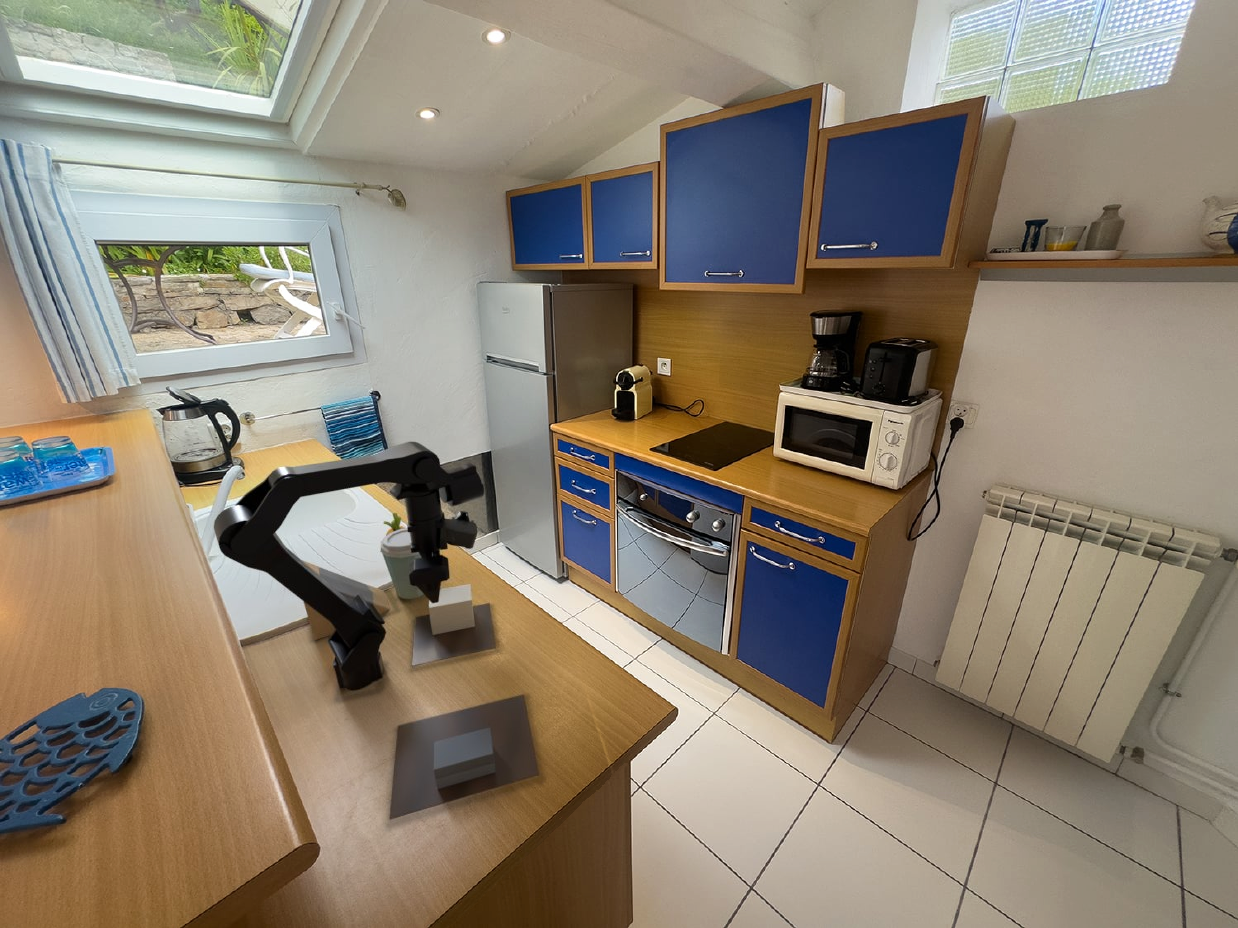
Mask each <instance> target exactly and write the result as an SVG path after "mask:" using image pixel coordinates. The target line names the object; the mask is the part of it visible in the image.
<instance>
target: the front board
mask: <svg viewBox="0 0 1238 928" xmlns="http://www.w3.org/2000/svg"><path fill="white" fill-rule="evenodd" d="M486 728H491V736H492V745H493V754H494V763H495V773H492V774H488V775H485V776H481V777H478V778H475V779H471V780H468V781H464V782H461V783H457V784H454V785H450V786H447V787H444V788H440V789H437V785H436V780H435V775H434V742H436V741H440V740H444V739H448V738H452V737H455V736H459V735H463V734H467V733H471V732H474V731H478V730H482V729H486ZM537 760H538V759H537V755H536V750H535V744H534V739H533V735H532V729H531V724H530V718H529V714H528V709H527V703H526V698H525V694H520V695H516V696H512V697H508V698H503V699H499V700H496V701H495V700H494V701H492V702H487V703H483V704H480V705H479V704H478V705H476V706H472V707H468V708H463V709H459V710H455V711H452V712H447V713H443V714H439V715H435V716H431V717H426V718H423V719H418V720H414V721H410V722H407V723H403V724H399V725H397V730H396V743H395V754H394V764H393V765H394V766H393V775H392V788H391V799H390V809H389V820H393V819H396V818H397V819H398V818H401V817H404V816H406V815H411V814H414V813H417V812H420V811H424V810H427V809H431V808H433V807H437V806H440V805H444V804H447V803H450V802H453V801H456V800H460V799H463V798H466V797H471V796H474V795H477V794H480V793H483V792H487V791H489V790H493V789H496V788H500V787H503V786H506V785H510V784H514V783H517V782H520V781H523V780H526V779H530V778H533V777H536V776H540V773H539V765H538V761H537Z"/></svg>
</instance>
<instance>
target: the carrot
mask: <svg viewBox="0 0 1238 928" xmlns="http://www.w3.org/2000/svg"><path fill="white" fill-rule="evenodd" d="M392 517H393V520H392V521H391V522H390V521H386V520H385V521H383V524H384V525H387V526H388V527H389V529H388V530H387V532H386V534H385V537H386V536H387V535H388V534H389V533H391V532H394V531H397V530H399V529H404V528H406V527H404V526H402V525H401V521H402V517H401V516H399V515H398V513H397V512H393V513H392Z"/></svg>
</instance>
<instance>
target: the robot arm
mask: <svg viewBox="0 0 1238 928" xmlns="http://www.w3.org/2000/svg"><path fill="white" fill-rule="evenodd" d="M382 483H383V484H384V483H385V484H387V483H388V484H390V483H391V484H395V485H393V486H392V487H391V488H390V489H389V491H388V492H389V494H390V495H391V496H393V497H394V499H396V500H397V501H400V500H401V501H402V500H404V505H405V512H406V518H407V526H406V528H407V529H408V533H409V532H410V538H411V553H416V552H419V554H420V556H421V557H422V558H418V559H414V560H413V561H412V562H411V563H410V566H409V580H410V585H412V586H416V587H418V588H419V589H420V590H421V591H422V593H423V594H424V596H425V597H426V598H427V599H428V601H429V600H430V601H431V603H437V602H439V594H440V589H441V586H442V582H447V581H448V580H449V579H450V578H451V575H450V573H451V572H450V562H449V558H448V557H446V556H445V555H443V554H441V551H444V550H448V549H449V546H451V547H452V546H453V547H461V548H465V549H468V550H471V549H473V548H474V546H475V543H476V539H477V536H478V526H477V523H475V520H473V519H471V520H470V516H469V512H468V511H465V510H459V511H458V513H456V514H455V515H454V516H452V517H451V518H446V515H445V512H443V510H442V504H441V503H444V504H448V506H450V507H456V506H460V505H462V504H465V503H468V502H469V503H470V502H473V501H476V500H478V499H482V498H483V497H484V494H485V485H484V484H483V482H482V478H481V476H480V474H479V473H478V471H477V466H476V465H474V464H473V463H470V462H468V463H465V464H463V465H461V466H457V467H453V468H450V469H449V468H448V469H445V468H444V467H442V466H441V461H440V458H439V456H438V455H437V454H436V453H435V452H433V450H431V449H430V448H427V447H426V446H425V445H423V444H421V443H420V442H416V441H407V442H404V443H400V444H397V445H393V446H390V447H388V448H386V449H384V450H382V451H381V452H379V453H376V454H371V455H367V456H358V457H351V458H343V459H338V460H331V461H324V462H316V463H311V464H303V465H296V466H281V467H277V468H275V469H273V470H272V471H271V473H269V474H268V475H267V476H266V478H265V479H264V480H262V481H261V482H260V483H259V484H257V485H256V486H254V487H253V488H252V489H250V490H249V491H247V492H246V493H245V494H244V495H243V496H242V497H241V498H240V499H239V500H238V502H236V503H235V504H234V505H232V506H230V507H227V508H226V509H223V510H222V511H221V512H220V513H219V514H218V515H217V516H216V518H215V519H214V522H213V530H214V534H215V537H216V541H217V545H218V548H219V550H220V552H221V553H222V554H223V555H224V556H225V557H226V558H228V559H230V560H232V561H234V562H236V563H239V564H240V565H242V566H244V567H246V568H249V569H253V570H257V571H260V572H263V573H266V574H268V575H269V576H271V578H273V579H274V580H275V581H277V582H278V583H279V584H281V585H282V586H283V587H285V588H286V589H287V590H288V591H290V592H291V593H292V594H294V595H295V596H296V597H297V598H298V599H300V600H301V601H304V602H305V603H306V604H308V605H309V606H310V607H311V608H313V609H314V610H315V611H317V612H318V613H319V614H320V615H322V616H323V617H324V618H326V619H327V620H328V621H329V622H331V624H332V625H333V626H334V628H335V631H334V632H333V633H332V635H329V636H328V638H327V643H328V646H329V647H330V649H331V652H332V653H333V655H334V659H333V662H332V666H333V670H334V673H335V677H336V682H337V685H338V689H340V690H341V689H345V690H348V691H360V690H363V689H365V688H366V687H369V686H370V685H372V683H374V682H378V681H379V680H381V679H384V671H385V666H384V665H385V664H384V662H383V656H382V653H381V651H380V649H381V648H380V647H381V644H382V643H384V640H385V638H386V634H387V630H386V628H385V627H384V625H385V624H386V621H385V620H384V618H383V617H382V615H381V613H380V614H379V613H378V611H377V610H376V608H375V607H374V605H373V604H372V603H368V602H367V601H365V600H364V599H363V597H362V596H361V594H360V593H359V594H358V595H357V596H356V597H355V598H354V599H350V598H347V597H345V596H343V595H342V594H341V593H340V592H338V591H337V590H336V589H335V588H334V587H333V586H331V585H330V584H329V583H328V582H327V581H325V580H324V579H323V578H322V577H321V576H320V575H318V574H317V573H316V572H315V571H314V570H313V569H311V568H310V567H309V566H308V565H307V564H305V563H304V562H303V561H304V560H303V559H301V558H299V557H298V556H297V555H296V554H295V553H294V552H293V551H292V550H290V549H289V548H288V547H286V545H285V543H284V542H283V541H282V539H281V538H280V536H279V535H278V534H277V532H278V530H279V529H280V528H281V527H282V525H283V524H284V523H285V520H286V518H287V516H288V515H289V513H290V512H291V510H292V508H293V506H294V505H296V503H297V502H298V501H299V500H300V498H304V497H309V496H314V495H320V494H327V493H331V492H332V493H333V492H336V491H341V490H342V491H343V490H349V489H355V488H359V487H364V486H365V487H366V486H369V485H377V484H382ZM448 545H449V546H448ZM302 560H303V561H302ZM304 602H303V603H304Z"/></svg>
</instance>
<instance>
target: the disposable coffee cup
mask: <svg viewBox="0 0 1238 928" xmlns="http://www.w3.org/2000/svg"><path fill="white" fill-rule="evenodd" d="M380 553H381V554H382V557H383V559H384V562H385V565H386V568H387V570H388V574H389V576H390V579H391V581H392V584H393V587H394V590H395V593H396V596H397V597H399V598H400V599H403V600H413V599H417V598H418V599H419V598H420V597H422V596H423V595H424V594H423V593H422V591H421V590H420V589H419V588H418V587H416V586H412V585H410V580H409V566H410V563H411V562H412V561H413V560H414V559H418V558H422V557H421V556H420V554H419V552H416V553H411V538H410V532H409V533H408V529H407V527H405V528H404V529H399V530H397V531H394V532H391V533H389V534H388V535H387V536H386V535H385V536H384V537H383V538H382V539H381V541H380ZM424 596H425V595H424Z"/></svg>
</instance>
